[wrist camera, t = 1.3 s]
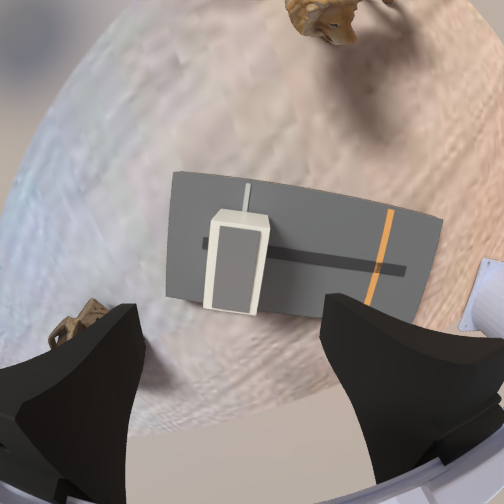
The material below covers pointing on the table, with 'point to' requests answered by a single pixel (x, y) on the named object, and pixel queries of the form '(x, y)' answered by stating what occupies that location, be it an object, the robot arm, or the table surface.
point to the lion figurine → (325, 19)
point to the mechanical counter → (77, 323)
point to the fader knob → (236, 261)
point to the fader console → (305, 245)
